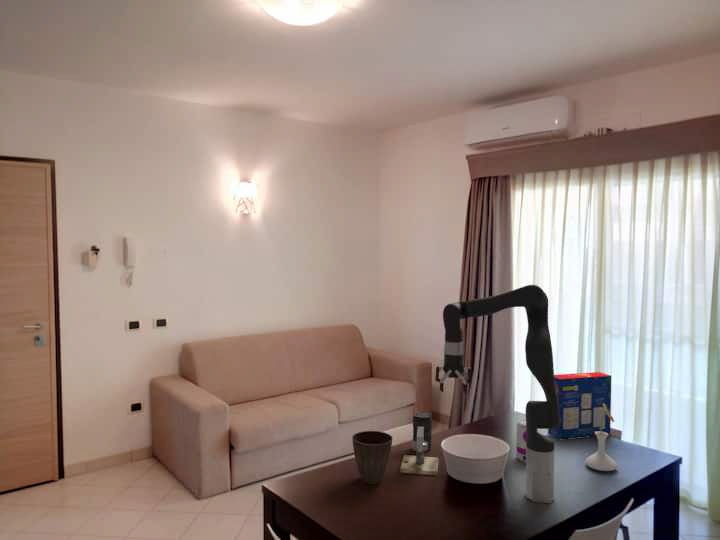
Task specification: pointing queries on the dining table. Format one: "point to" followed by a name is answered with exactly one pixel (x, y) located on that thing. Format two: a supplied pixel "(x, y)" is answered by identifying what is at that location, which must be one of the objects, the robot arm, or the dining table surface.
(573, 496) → the dining table surface
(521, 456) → the supplement can
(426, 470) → the post base
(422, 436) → the collar
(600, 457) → the flower in vase
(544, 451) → the robot arm
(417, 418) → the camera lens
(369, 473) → the plant pot
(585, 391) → the blue product box
